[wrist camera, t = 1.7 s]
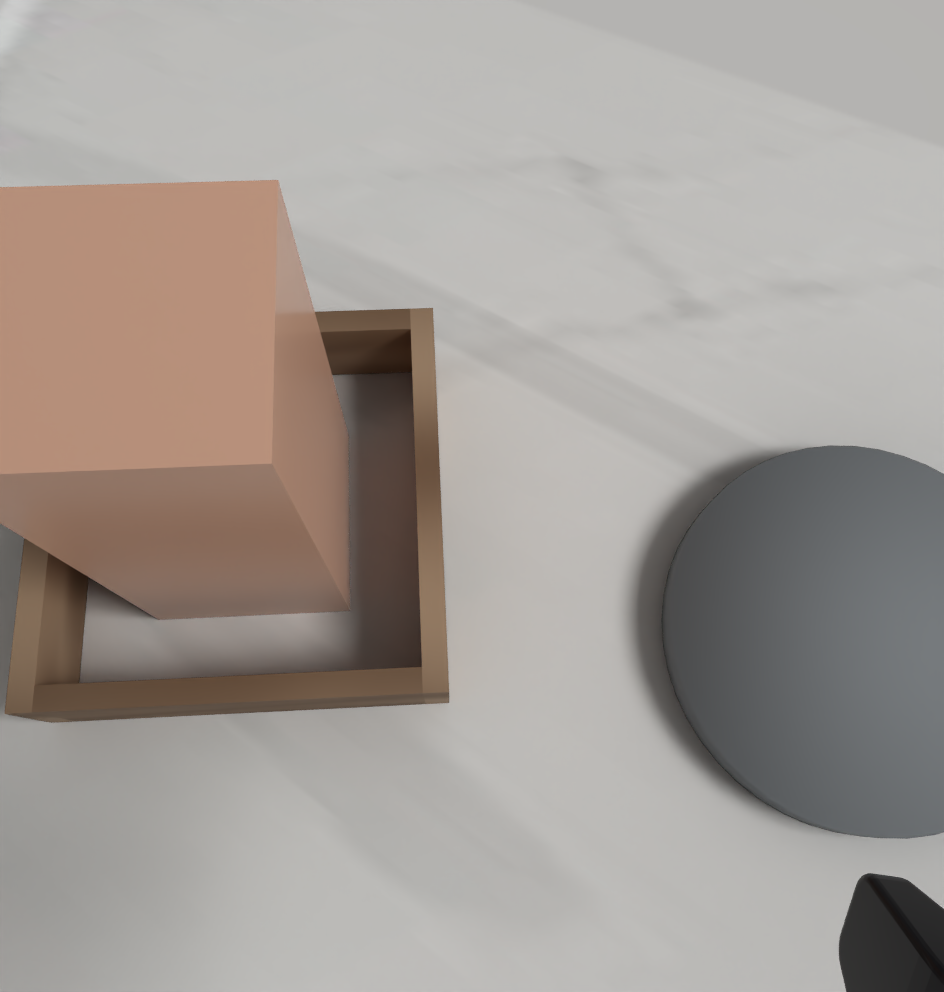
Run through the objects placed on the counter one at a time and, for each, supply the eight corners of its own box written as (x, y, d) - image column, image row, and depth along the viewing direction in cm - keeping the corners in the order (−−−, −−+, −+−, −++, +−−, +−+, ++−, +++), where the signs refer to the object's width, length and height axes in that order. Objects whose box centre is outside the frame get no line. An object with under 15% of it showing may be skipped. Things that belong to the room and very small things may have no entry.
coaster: (828, 922, 21) (845, 928, 20) (587, 579, 24) (593, 570, 23) (1119, 692, 23) (1147, 688, 22) (868, 397, 26) (884, 382, 25)
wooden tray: (448, 702, 23) (448, 691, 20) (51, 722, 22) (4, 714, 20) (434, 352, 26) (433, 308, 24) (86, 364, 26) (48, 320, 23)
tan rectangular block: (350, 611, 24) (272, 464, 13) (158, 619, 23) (-77, 477, 13) (348, 435, 25) (278, 180, 15) (169, 442, 25) (-32, 188, 14)
